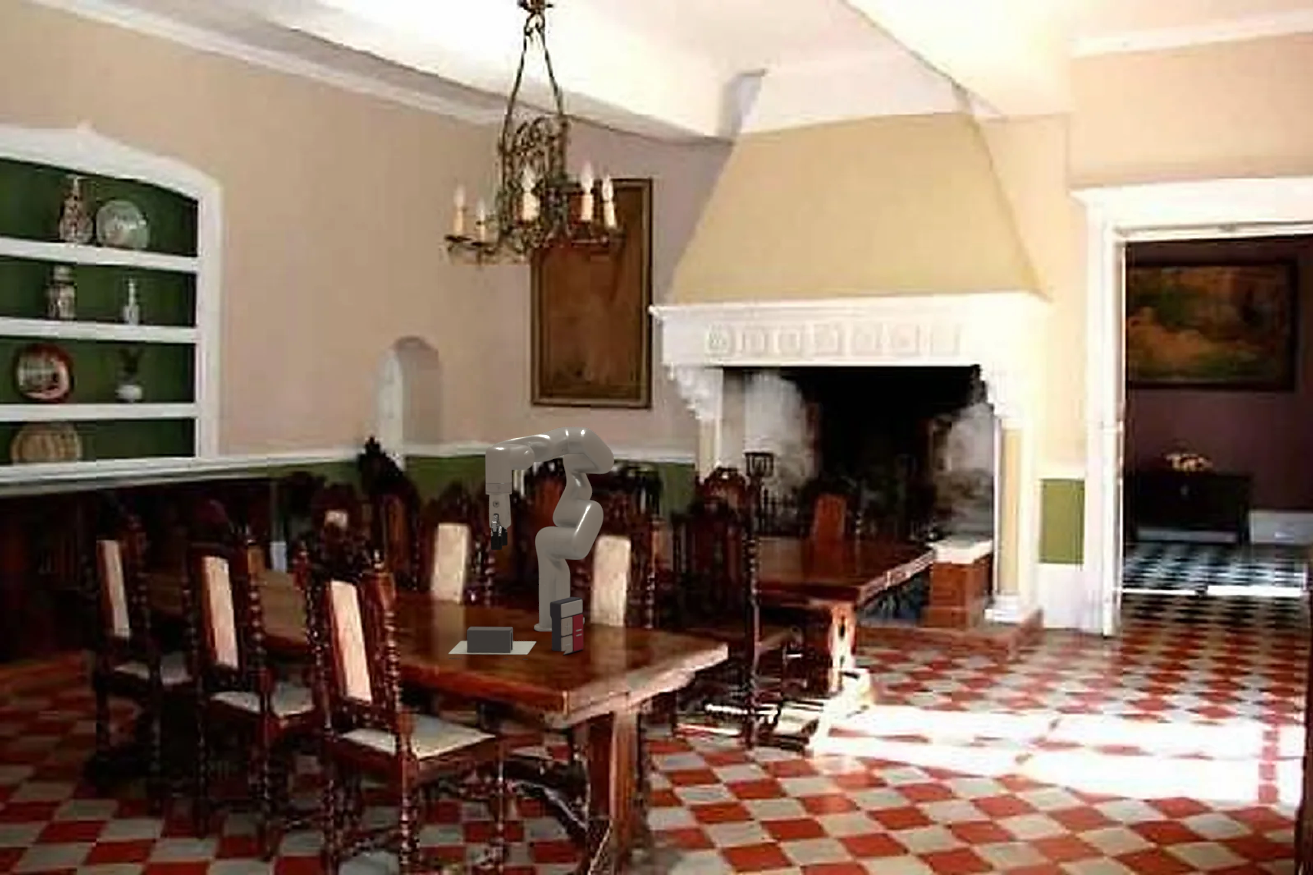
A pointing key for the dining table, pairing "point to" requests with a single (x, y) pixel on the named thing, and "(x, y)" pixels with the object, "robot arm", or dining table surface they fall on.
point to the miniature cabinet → (567, 625)
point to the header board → (518, 648)
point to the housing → (490, 639)
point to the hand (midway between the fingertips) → (499, 547)
